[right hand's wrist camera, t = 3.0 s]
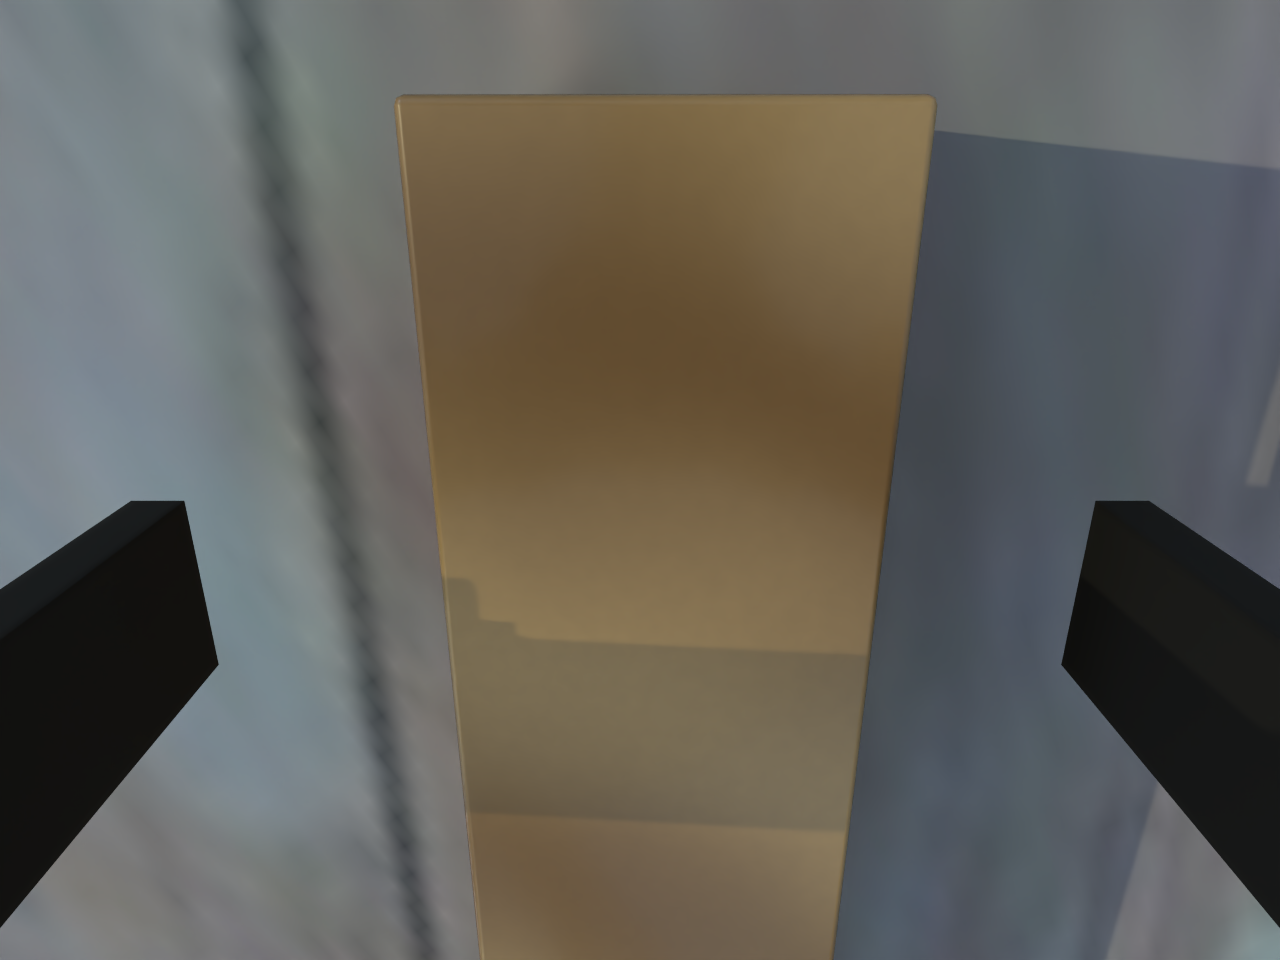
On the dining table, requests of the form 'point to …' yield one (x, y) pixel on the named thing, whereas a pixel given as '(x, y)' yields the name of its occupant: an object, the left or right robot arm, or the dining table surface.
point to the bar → (661, 496)
